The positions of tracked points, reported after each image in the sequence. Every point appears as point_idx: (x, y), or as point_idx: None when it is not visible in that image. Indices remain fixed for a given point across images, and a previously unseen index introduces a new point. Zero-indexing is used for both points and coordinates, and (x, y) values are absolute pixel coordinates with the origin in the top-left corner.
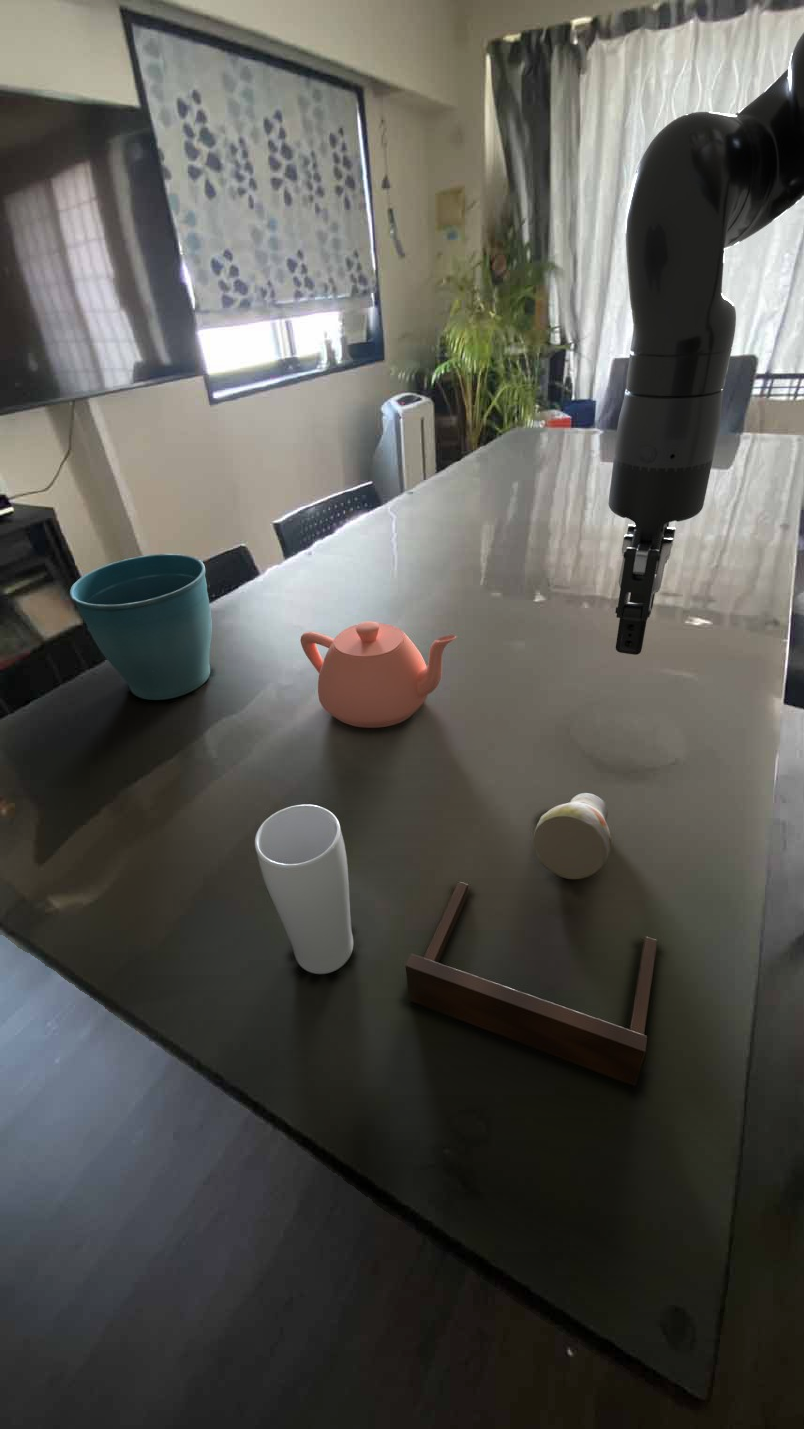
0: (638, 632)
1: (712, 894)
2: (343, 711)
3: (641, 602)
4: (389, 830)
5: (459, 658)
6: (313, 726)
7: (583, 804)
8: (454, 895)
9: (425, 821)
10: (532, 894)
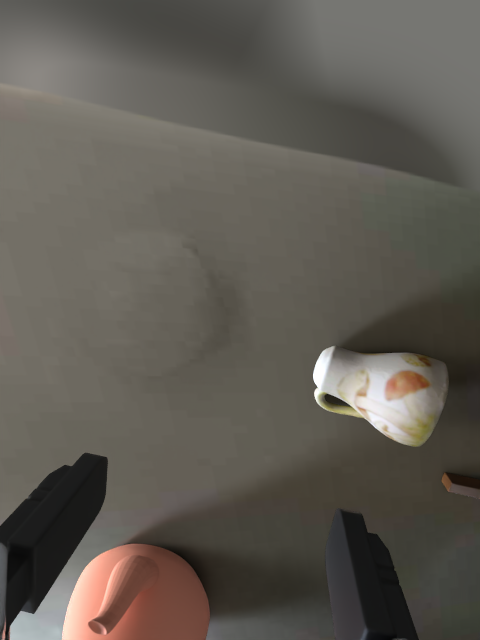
0: (407, 606)
1: (428, 227)
2: (205, 638)
3: (90, 499)
4: None
5: None
6: None
7: (382, 400)
8: (469, 494)
9: None
10: None
